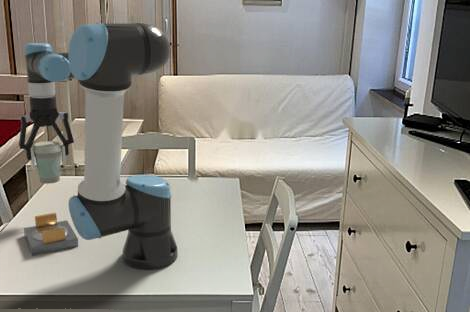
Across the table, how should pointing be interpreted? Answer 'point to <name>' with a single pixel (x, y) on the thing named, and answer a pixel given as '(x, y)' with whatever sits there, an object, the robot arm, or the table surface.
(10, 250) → the table surface
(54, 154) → the coffee cup
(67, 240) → the block
